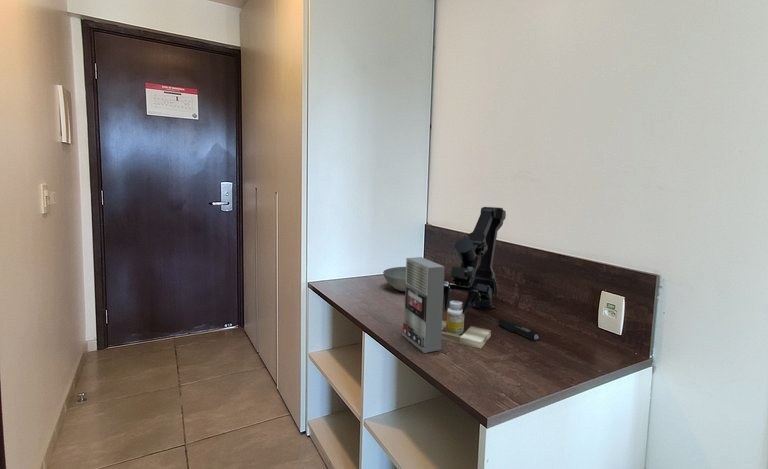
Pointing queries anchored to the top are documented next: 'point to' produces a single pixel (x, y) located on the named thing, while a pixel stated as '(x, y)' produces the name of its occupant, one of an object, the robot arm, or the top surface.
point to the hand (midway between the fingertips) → (454, 311)
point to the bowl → (396, 277)
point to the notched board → (467, 336)
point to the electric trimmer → (519, 329)
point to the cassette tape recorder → (423, 304)
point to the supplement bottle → (455, 318)
